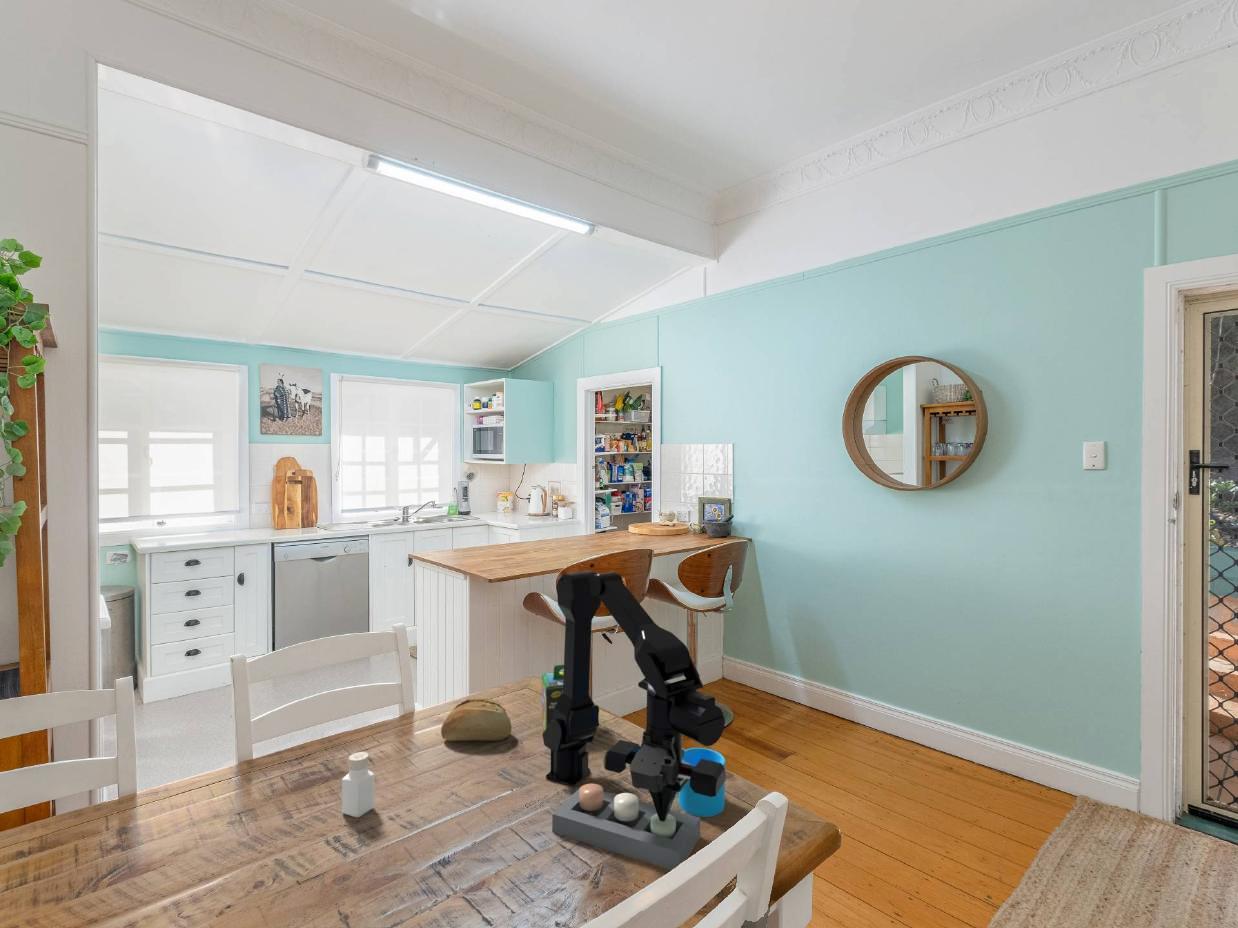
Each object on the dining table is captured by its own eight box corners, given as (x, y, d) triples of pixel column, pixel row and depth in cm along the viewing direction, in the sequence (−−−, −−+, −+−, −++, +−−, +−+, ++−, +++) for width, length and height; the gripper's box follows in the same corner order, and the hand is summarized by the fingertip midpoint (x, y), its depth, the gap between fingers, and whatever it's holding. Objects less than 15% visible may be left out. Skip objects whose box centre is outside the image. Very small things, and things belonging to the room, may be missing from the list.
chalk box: (579, 718, 148) (580, 655, 148) (586, 734, 139) (587, 668, 139) (540, 721, 146) (541, 658, 146) (545, 738, 137) (545, 671, 137)
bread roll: (443, 731, 140) (443, 695, 140) (511, 726, 143) (511, 692, 143) (438, 751, 131) (439, 712, 131) (511, 746, 133) (511, 708, 133)
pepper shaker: (375, 808, 109) (376, 753, 109) (357, 819, 105) (357, 763, 105) (358, 802, 111) (359, 748, 111) (340, 814, 107) (340, 758, 107)
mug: (730, 815, 108) (731, 768, 108) (684, 818, 107) (684, 770, 107) (711, 780, 120) (712, 737, 120) (669, 782, 119) (670, 739, 119)
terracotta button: (574, 806, 104) (575, 792, 104) (586, 795, 108) (586, 781, 108) (596, 813, 102) (596, 798, 102) (607, 801, 106) (607, 787, 106)
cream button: (609, 817, 101) (609, 802, 101) (620, 805, 105) (620, 790, 105) (632, 823, 100) (632, 808, 100) (642, 811, 103) (642, 796, 103)
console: (552, 832, 103) (552, 813, 103) (582, 802, 112) (582, 785, 112) (678, 872, 93) (678, 852, 93) (700, 836, 102) (700, 818, 102)
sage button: (646, 838, 98) (646, 823, 98) (656, 825, 102) (656, 810, 102) (670, 845, 97) (670, 829, 97) (679, 831, 100) (679, 816, 100)
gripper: (588, 729, 96) (586, 830, 96) (704, 756, 88) (703, 867, 88) (619, 704, 106) (618, 796, 106) (727, 726, 98) (725, 825, 98)
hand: (662, 819), depth 99 cm, fingers closed, pressing on sage button
